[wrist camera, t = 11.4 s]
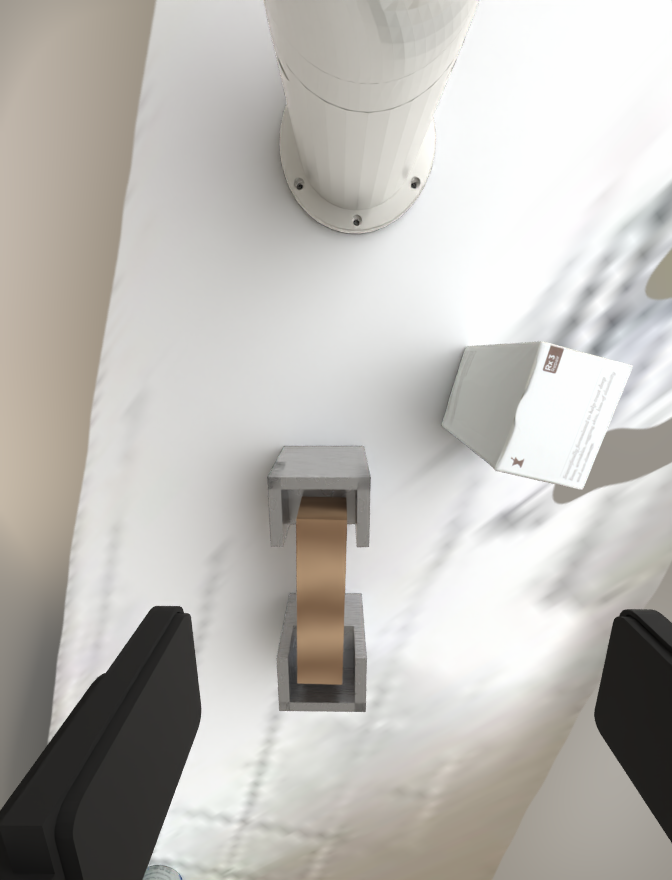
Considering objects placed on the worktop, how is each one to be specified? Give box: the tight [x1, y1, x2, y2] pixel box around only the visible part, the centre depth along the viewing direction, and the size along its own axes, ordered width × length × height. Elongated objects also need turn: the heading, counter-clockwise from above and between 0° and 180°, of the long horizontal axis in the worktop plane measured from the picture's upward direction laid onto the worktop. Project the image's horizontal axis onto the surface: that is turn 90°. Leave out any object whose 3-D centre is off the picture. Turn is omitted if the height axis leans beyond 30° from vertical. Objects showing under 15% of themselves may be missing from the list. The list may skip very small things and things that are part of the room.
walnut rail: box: [296, 496, 347, 685], centre depth 35 cm, size 16×4×4 cm, turn 179°
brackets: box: [268, 446, 371, 712], centre depth 37 cm, size 23×8×9 cm, turn 0°
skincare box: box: [441, 341, 633, 489], centre depth 30 cm, size 8×6×15 cm
